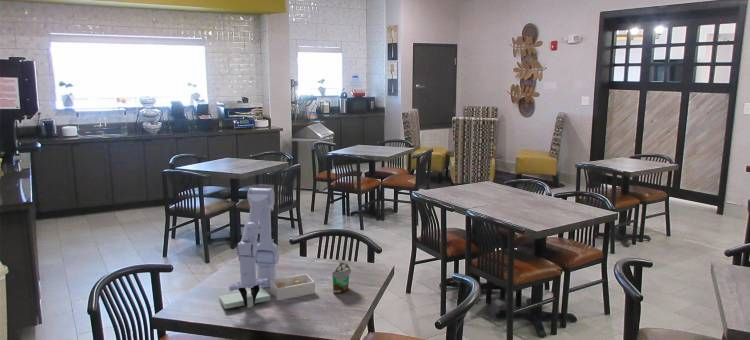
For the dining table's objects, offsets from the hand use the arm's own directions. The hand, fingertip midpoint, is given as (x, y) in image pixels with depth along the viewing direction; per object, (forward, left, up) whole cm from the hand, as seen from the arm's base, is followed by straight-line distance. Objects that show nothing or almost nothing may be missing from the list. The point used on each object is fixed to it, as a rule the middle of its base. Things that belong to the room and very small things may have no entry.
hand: (249, 304), depth 206 cm
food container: (-1, +40, -2) cm, 40 cm away
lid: (-6, 0, -1) cm, 6 cm away
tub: (-8, +20, -2) cm, 22 cm away
